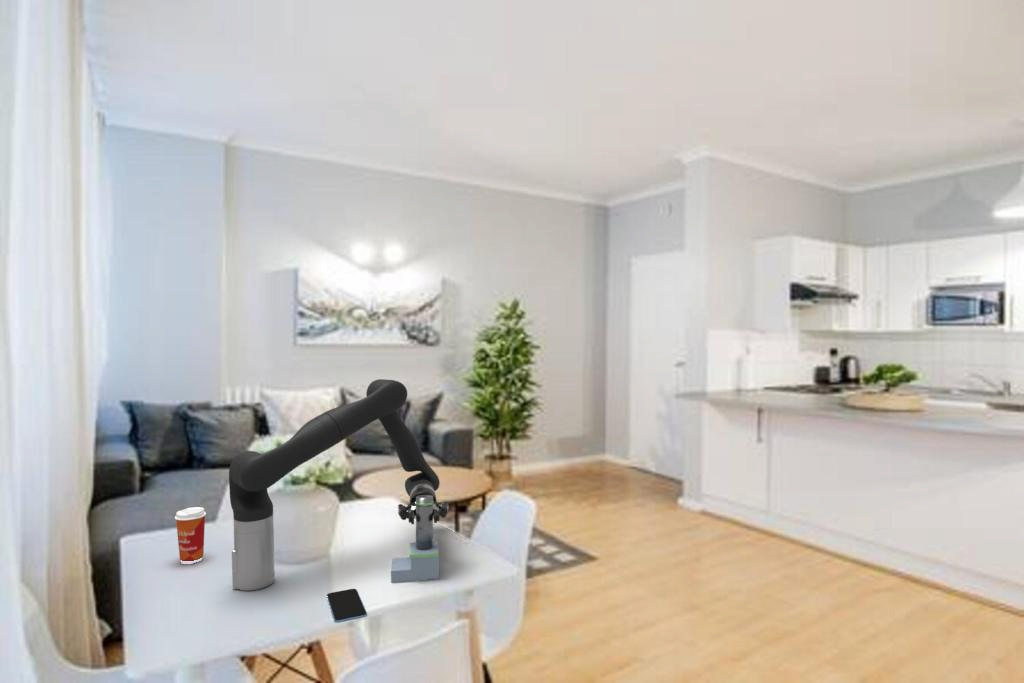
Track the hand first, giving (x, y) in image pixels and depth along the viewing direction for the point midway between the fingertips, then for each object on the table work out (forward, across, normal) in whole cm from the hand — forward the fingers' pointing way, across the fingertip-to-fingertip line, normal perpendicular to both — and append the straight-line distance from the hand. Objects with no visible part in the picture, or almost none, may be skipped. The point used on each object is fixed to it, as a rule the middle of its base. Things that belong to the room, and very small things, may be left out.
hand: (424, 519), depth 153 cm
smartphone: (+11, -18, +16) cm, 27 cm away
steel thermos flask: (-3, 0, +8) cm, 8 cm away
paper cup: (-23, -64, +15) cm, 69 cm away
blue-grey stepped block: (-2, -3, +15) cm, 16 cm away
